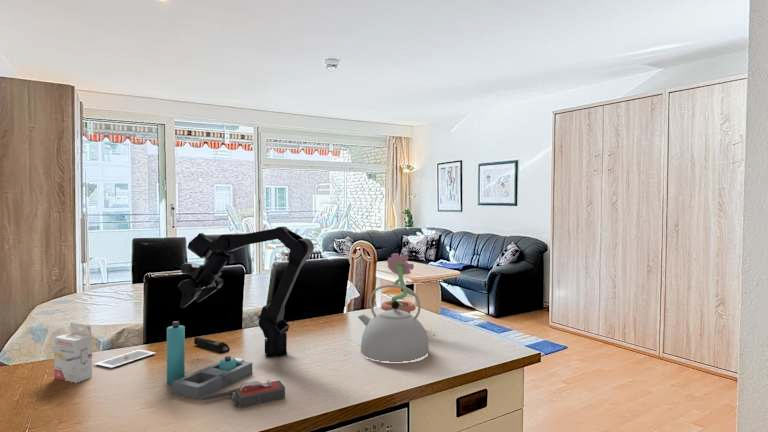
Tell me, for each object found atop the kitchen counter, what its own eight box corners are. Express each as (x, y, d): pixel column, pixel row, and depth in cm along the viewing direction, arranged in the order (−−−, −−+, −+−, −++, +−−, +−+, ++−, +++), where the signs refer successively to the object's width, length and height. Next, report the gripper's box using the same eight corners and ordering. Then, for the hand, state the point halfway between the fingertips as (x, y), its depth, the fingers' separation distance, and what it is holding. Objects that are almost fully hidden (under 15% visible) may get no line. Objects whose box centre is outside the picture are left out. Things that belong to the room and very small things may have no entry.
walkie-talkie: (279, 386, 122) (200, 402, 111) (279, 370, 121) (200, 384, 111) (290, 398, 114) (206, 416, 104) (290, 381, 114) (206, 397, 104)
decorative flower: (422, 325, 185) (423, 252, 184) (410, 334, 172) (411, 255, 172) (389, 321, 191) (389, 250, 190) (375, 329, 178) (376, 253, 178)
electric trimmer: (200, 344, 159) (200, 335, 158) (230, 351, 150) (230, 341, 150) (191, 347, 155) (191, 337, 155) (221, 354, 147) (221, 344, 147)
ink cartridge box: (53, 379, 124) (52, 326, 124) (70, 373, 129) (70, 321, 128) (75, 383, 121) (75, 329, 121) (93, 377, 126) (93, 324, 126)
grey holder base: (228, 368, 134) (228, 349, 134) (252, 372, 130) (252, 354, 130) (171, 393, 116) (171, 371, 116) (198, 399, 112) (198, 377, 112)
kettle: (342, 357, 145) (343, 287, 145) (370, 338, 166) (371, 277, 166) (416, 368, 136) (417, 293, 136) (436, 347, 157) (437, 282, 157)
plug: (185, 378, 126) (185, 319, 125) (183, 384, 121) (183, 323, 121) (168, 380, 124) (168, 320, 124) (165, 386, 120) (165, 324, 120)
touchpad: (93, 367, 135) (93, 360, 135) (139, 352, 149) (139, 346, 149) (111, 371, 132) (111, 363, 132) (156, 356, 145) (156, 349, 145)
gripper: (208, 250, 160) (186, 286, 162) (178, 255, 142) (152, 296, 143) (233, 268, 159) (210, 304, 161) (205, 276, 141) (180, 316, 142)
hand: (189, 304), depth 152 cm, fingers open, 9 cm apart
